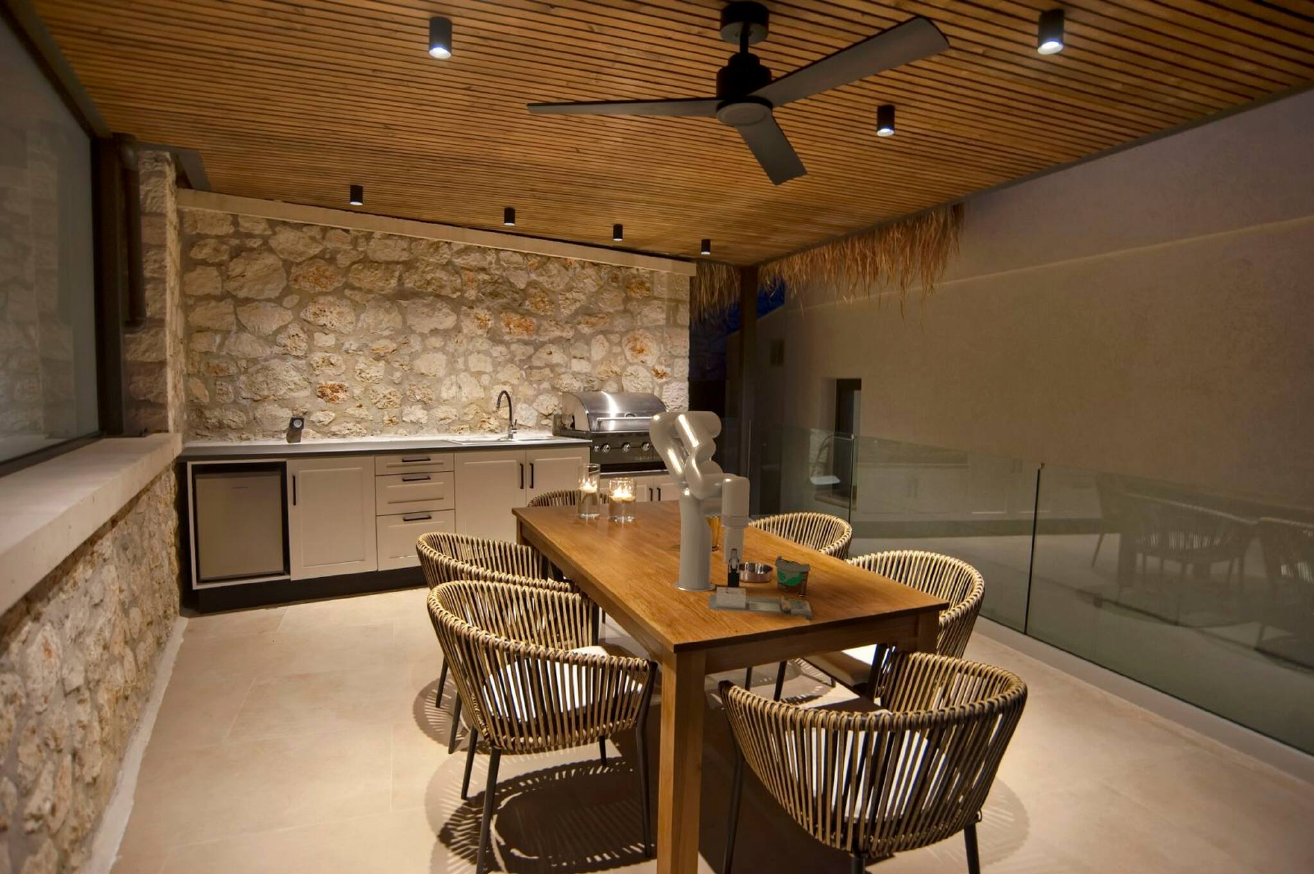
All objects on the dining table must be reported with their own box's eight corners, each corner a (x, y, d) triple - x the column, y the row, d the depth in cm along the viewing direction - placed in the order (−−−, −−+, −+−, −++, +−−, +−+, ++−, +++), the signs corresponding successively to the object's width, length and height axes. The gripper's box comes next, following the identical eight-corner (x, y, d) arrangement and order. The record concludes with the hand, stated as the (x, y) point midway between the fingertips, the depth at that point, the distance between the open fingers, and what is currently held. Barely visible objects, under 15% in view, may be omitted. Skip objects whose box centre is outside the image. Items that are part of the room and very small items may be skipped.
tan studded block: (716, 600, 201) (717, 586, 200) (744, 602, 200) (745, 588, 199) (715, 607, 195) (716, 592, 194) (745, 609, 194) (745, 594, 194)
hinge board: (709, 597, 207) (710, 593, 207) (806, 604, 204) (807, 600, 204) (708, 612, 193) (708, 608, 193) (812, 619, 190) (812, 615, 190)
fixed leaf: (780, 603, 201) (780, 594, 200) (807, 605, 200) (808, 596, 200) (782, 613, 191) (782, 605, 191) (811, 615, 190) (811, 607, 190)
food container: (764, 589, 217) (766, 557, 217) (778, 586, 221) (780, 555, 220) (795, 600, 208) (797, 566, 207) (809, 596, 211) (811, 564, 211)
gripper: (721, 516, 204) (720, 574, 205) (720, 525, 187) (719, 589, 188) (747, 517, 204) (746, 575, 204) (749, 527, 186) (747, 591, 187)
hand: (733, 582), depth 196 cm, fingers open, 9 cm apart
